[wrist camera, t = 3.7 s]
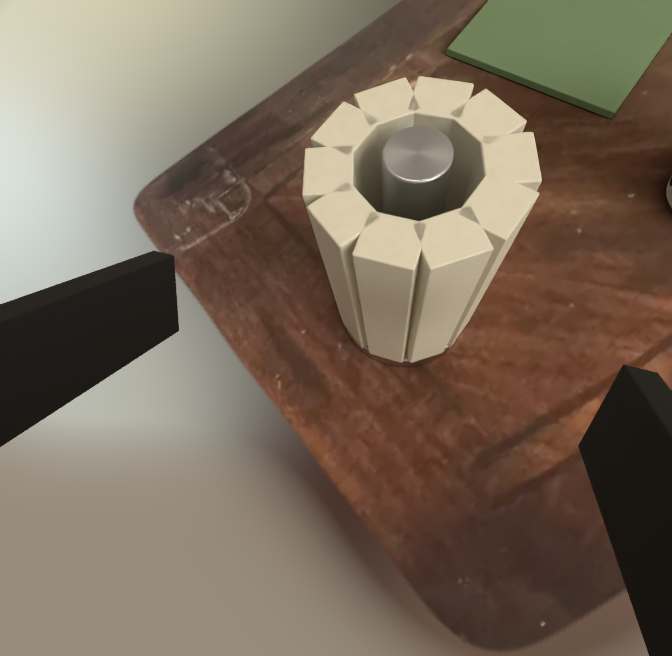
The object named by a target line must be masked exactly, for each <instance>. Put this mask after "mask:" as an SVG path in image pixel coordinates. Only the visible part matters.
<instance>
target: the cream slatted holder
mask: <svg viewBox="0 0 672 656" xmlns="http://www.w3.org/2000/svg"><path fill="white" fill-rule="evenodd" d="M473 87H474V85H473V84H472V83H466V82H459V81H451V80H444V79H437V78H430V77H422V76H419V77H418V79H417V82H416V85H415V87H414V90H413V91H412V89H411V87H410V85H409V83H408V81H407V79H406V77H404V78H401V79H398V80H395V81H392V82H389V83H386V84H383V85H380V86H377V87H374V88H371V89H368V90H365V91H362V92H359V93H357V94H354V101H355V106H353V105H350V104H348V103H346V102H342V104H341V105H340V106H339V107H338V108H337V109H336V110H335V111H334V112H333V114H332V115H331V116H330V117H329V118H328V119H327V120H326V121H325V122H324V123H323V125H322V126H321V127H320V128H319V129H318V130H317V131H316V132H315V133H314V135H313V136H312V137H311V143H312V147H313V148H306V149H305V160H304V176H303V192H302V196H303V199H304V202H305V205H306V208H307V211H308V215H309V218H310V221H311V224H312V227H313V230H314V234H315V237H316V240H317V243H318V246H319V249H320V253H321V256H322V259H323V262H324V265H325V268H326V271H327V275H328V278H329V281H330V284H331V287H332V290H333V294H334V297H335V300H336V303H337V306H338V309H339V313H340V316H341V318H342V321H343V324H344V325H345V327H346V328H347V329H348V331H349V332H350V333H351V335H352V336H353V337H354V339H355V340H356V341H357V343H358V344H359V345H360V347H361V348H364V347H365V346H367V345H368V351H369V353H370V354H373V355H377V356H380V357H383V358H386V359H390V360H393V361H396V362H400V363H402V362H403V359H404V355H405V352H406V354H407V356H408V359H409V362H410V363H413V362H416V361H419V360H422V359H425V358H428V357H431V356H434V355H437V354H441V353H443V352H444V350H445V348H446V346H448V347H451V346H452V345H453V343H454V342H455V340H456V339H457V337H458V336H459V335H460V333H461V332H462V330H463V329H464V327H465V326H466V325H467V323H468V322H469V320H470V318H471V316H472V315H473V313H474V311H475V309H476V307H477V306H478V304H479V302H480V300H481V298H482V297H483V295H484V293H485V291H486V289H487V288H488V286H489V284H490V282H491V280H492V279H493V277H494V275H495V273H496V271H497V270H498V268H499V266H500V264H501V263H502V261H503V259H504V257H505V255H506V254H507V252H508V250H509V248H510V246H511V245H512V243H513V241H514V239H515V237H516V236H517V234H518V232H519V230H520V228H521V227H522V225H523V223H524V221H525V219H526V218H527V216H528V214H529V212H530V210H531V209H532V207H533V205H534V203H535V201H536V200H537V198H538V196H539V193H538V192H536V191H537V189H538V187H539V185H540V184H541V181H542V178H541V172H540V167H539V161H538V155H537V150H536V144H535V138H534V133H533V132H523V130H524V127H525V125H526V122H527V121H526V120H525V119H524V118H523V117H521V116H520V115H519V114H518V113H516V112H515V111H514V110H513V109H511V108H510V107H509V106H508V105H506V104H505V103H504V102H502V101H501V100H500V99H499V98H497V97H496V96H495V95H494V94H492V93H491V92H490V91H489V90H487V89H484V90H483V91H481V92H480V93H478V94H477V95H475V96H474V97H472V98H471V96H472V91H473ZM413 126H427V127H432V128H435V129H437V130H439V131H441V132H442V133H444V134H445V135H446V136H447V137H448V138H449V139H450V141H451V143H452V145H453V148H454V160H453V165H452V170H451V174H450V179H449V184H448V189H447V193H446V198H445V203H444V207H443V212H442V214H440V215H437V216H434V217H431V218H428V219H425V220H422V221H416V220H411V219H407V218H402V217H398V216H393V215H389V214H384V213H383V193H382V151H383V148H384V146H385V144H386V142H387V141H388V140H389V138H390V137H391V136H393V135H394V134H395V133H397V132H398V131H400V130H402V129H405V128H408V127H413ZM522 132H523V133H522Z"/></svg>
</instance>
